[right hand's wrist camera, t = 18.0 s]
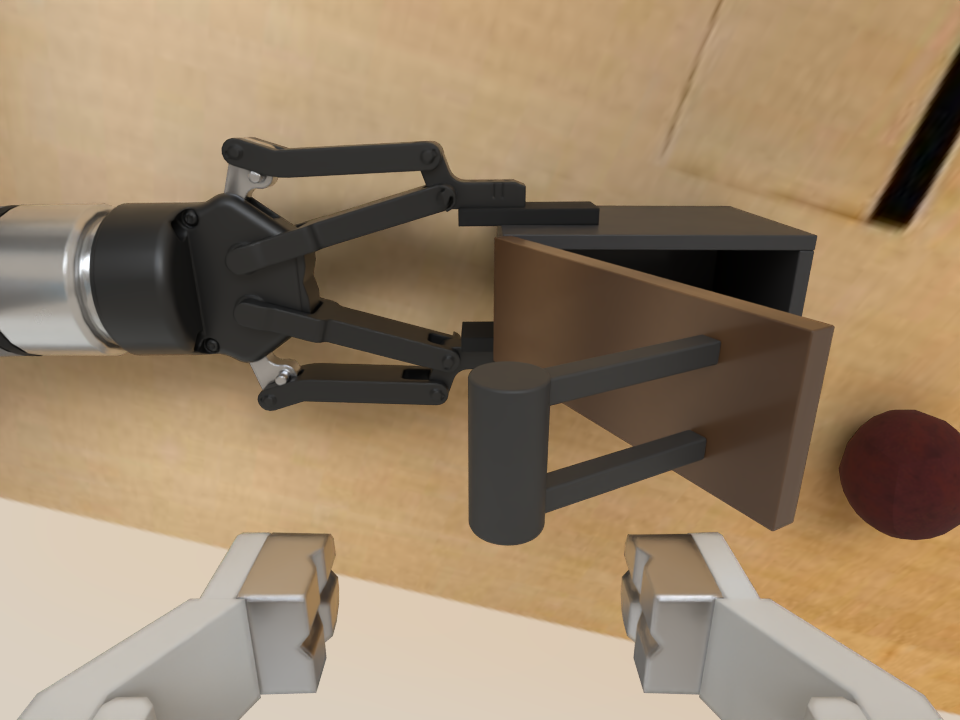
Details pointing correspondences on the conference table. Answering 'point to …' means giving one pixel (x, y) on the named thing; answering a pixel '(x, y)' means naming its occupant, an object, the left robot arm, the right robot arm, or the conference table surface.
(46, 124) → the conference table surface
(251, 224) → the left robot arm
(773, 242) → the chest
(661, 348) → the lid
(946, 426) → the potato
